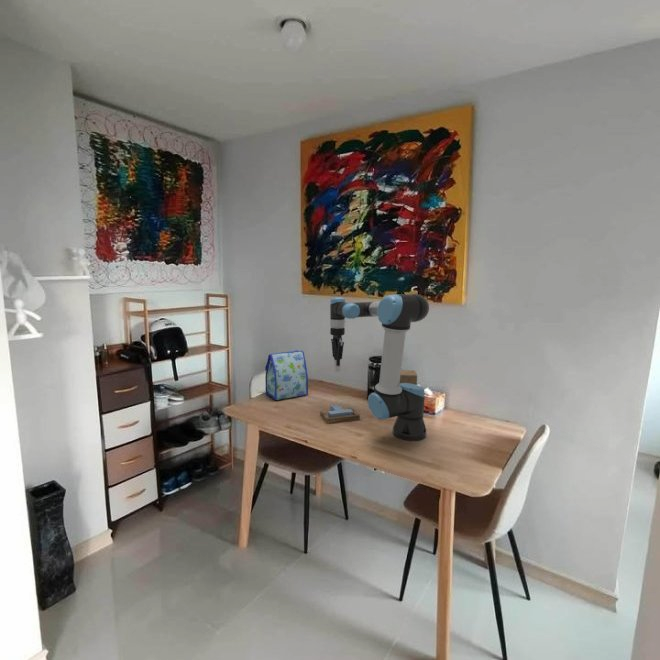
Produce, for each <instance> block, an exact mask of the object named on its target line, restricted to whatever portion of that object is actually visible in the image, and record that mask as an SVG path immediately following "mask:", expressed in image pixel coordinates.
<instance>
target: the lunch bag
mask: <svg viewBox="0 0 660 660" xmlns="http://www.w3.org/2000/svg"><path fill="white" fill-rule="evenodd" d="M265 364H266V365H265V368H264V370H265V380H264V381H265V395H266V396H267V397H271V398H272V399H273V400H274V401H279V400H284V399H289V398H295V397H301V396H302V397H303V396H307V395H309V376H308V369H307V362H306V357H305V352H304V350H297V349H296V350H292V351H291V350H290V351H285V352H284V351H283V352H277V353H270V354H268V357H267V361H266V363H265Z"/></svg>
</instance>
